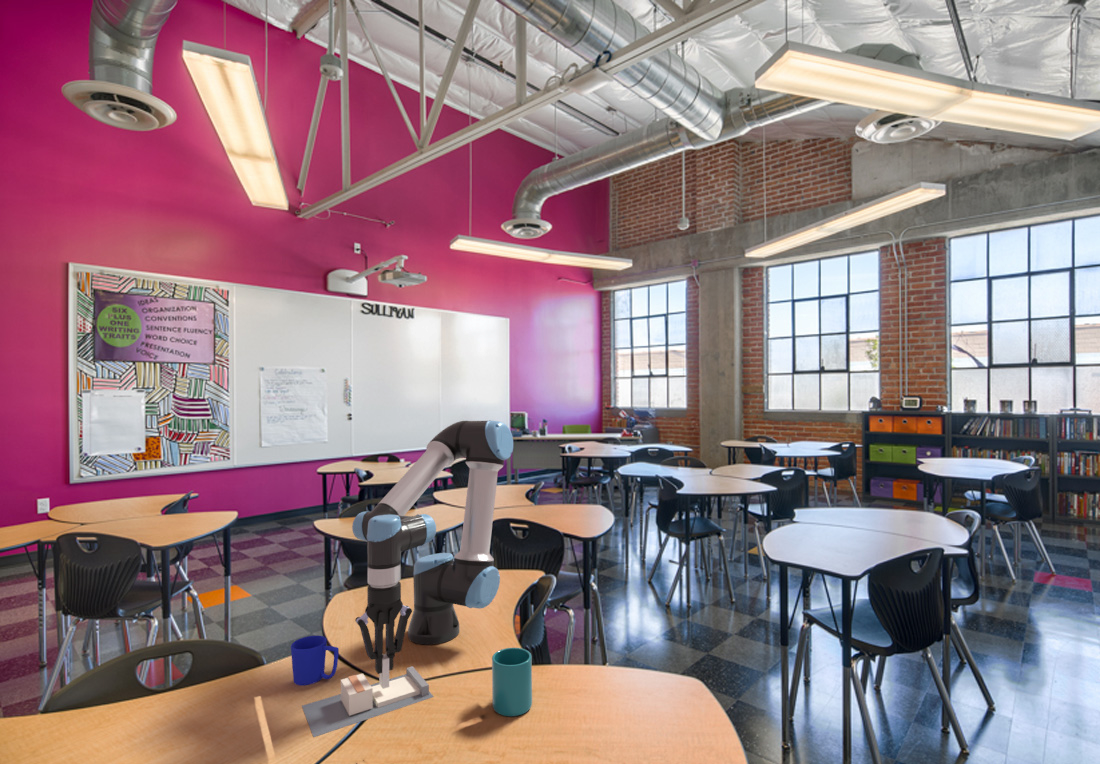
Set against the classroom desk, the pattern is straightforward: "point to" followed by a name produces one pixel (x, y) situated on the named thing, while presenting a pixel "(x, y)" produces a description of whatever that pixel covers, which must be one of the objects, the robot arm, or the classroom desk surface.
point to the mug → (311, 659)
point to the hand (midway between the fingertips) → (384, 685)
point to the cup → (512, 681)
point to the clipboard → (397, 695)
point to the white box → (356, 694)
